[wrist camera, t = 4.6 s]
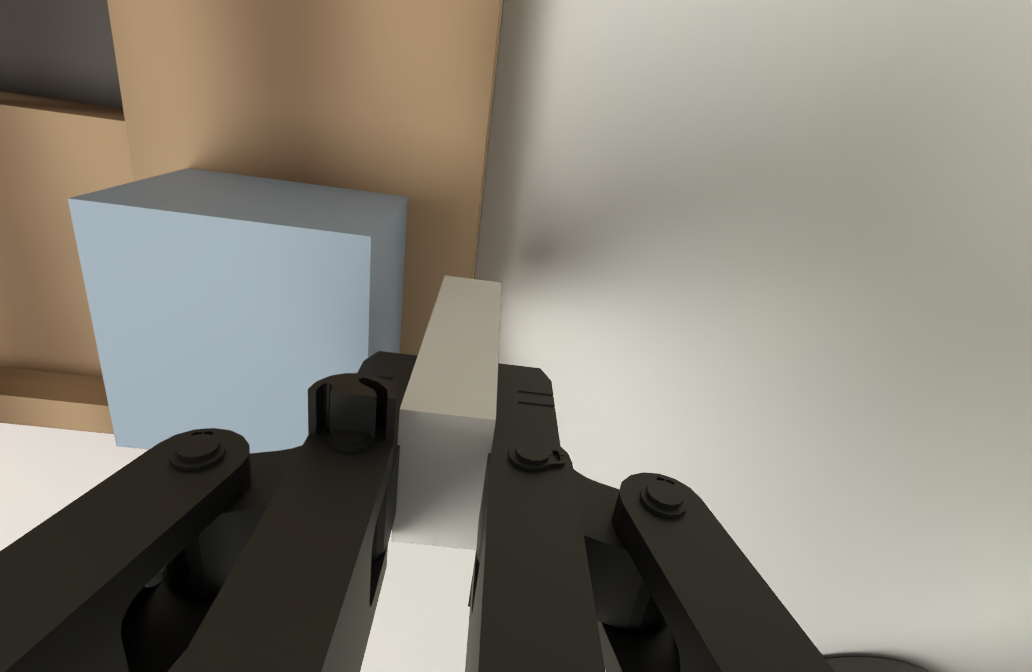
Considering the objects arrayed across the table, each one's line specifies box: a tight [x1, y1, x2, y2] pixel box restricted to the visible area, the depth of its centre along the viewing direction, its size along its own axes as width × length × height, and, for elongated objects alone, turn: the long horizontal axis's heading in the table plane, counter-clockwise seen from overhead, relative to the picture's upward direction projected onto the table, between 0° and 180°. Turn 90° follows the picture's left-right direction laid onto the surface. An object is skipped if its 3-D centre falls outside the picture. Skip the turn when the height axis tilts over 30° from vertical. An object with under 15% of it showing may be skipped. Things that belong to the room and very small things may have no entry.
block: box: [68, 168, 408, 453], centre depth 14 cm, size 6×6×4 cm
